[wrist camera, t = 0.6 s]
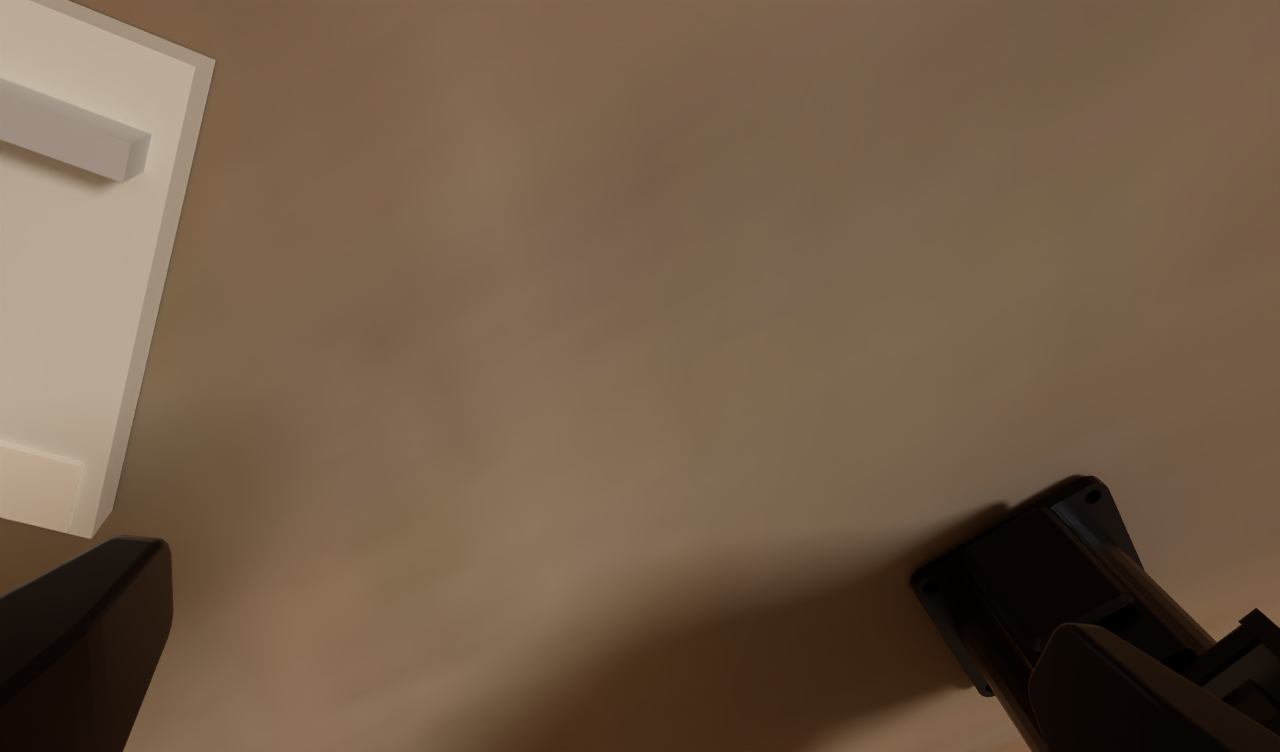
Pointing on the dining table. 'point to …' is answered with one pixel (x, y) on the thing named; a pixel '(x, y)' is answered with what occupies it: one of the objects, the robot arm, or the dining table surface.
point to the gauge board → (83, 244)
